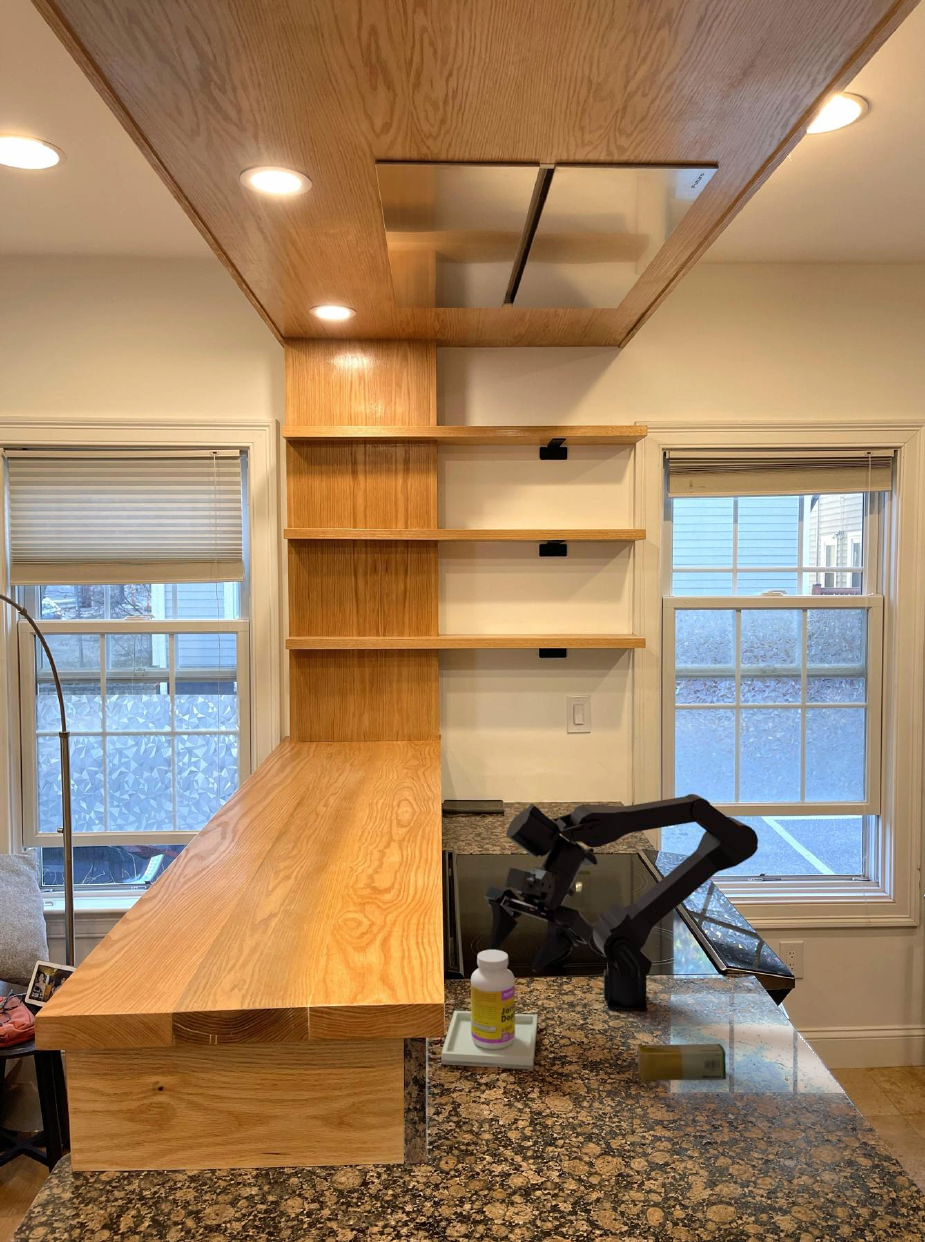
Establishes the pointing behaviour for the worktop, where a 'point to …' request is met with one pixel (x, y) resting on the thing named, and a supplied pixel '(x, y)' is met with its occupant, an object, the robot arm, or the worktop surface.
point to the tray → (469, 1054)
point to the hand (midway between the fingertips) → (511, 961)
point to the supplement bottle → (492, 1001)
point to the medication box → (682, 1062)
